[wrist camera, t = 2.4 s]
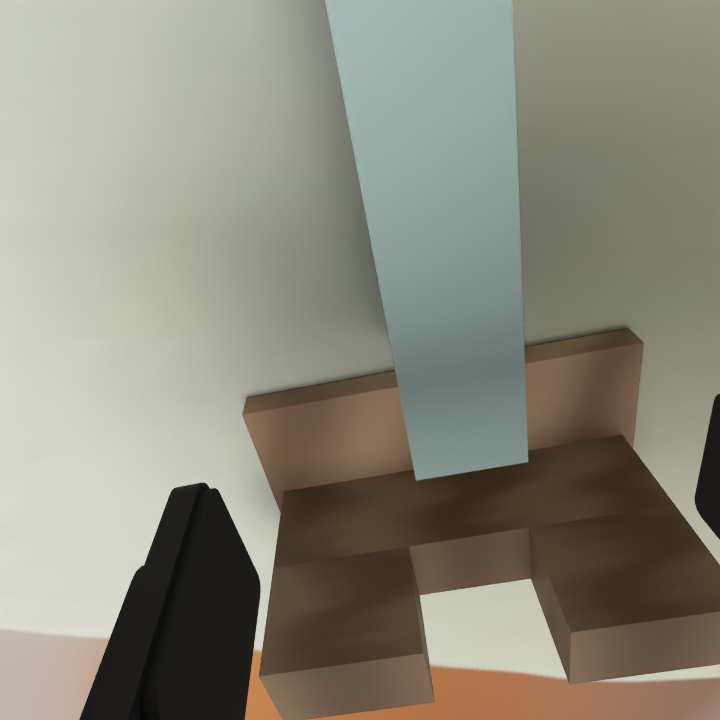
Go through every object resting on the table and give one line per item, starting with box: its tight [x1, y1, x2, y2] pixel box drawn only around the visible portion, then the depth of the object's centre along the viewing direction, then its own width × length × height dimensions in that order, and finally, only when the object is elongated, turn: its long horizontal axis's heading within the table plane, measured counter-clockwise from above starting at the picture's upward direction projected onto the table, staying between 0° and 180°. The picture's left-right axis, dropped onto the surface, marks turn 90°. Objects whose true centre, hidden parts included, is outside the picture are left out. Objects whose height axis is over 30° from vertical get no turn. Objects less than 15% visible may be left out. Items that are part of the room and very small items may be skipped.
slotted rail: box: [242, 328, 720, 720], centre depth 20 cm, size 16×12×9 cm
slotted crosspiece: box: [325, 0, 528, 481], centre depth 13 cm, size 3×14×8 cm, turn 11°
